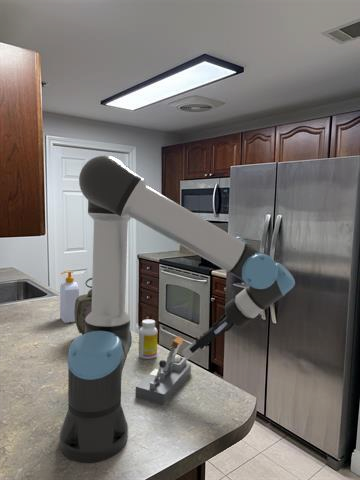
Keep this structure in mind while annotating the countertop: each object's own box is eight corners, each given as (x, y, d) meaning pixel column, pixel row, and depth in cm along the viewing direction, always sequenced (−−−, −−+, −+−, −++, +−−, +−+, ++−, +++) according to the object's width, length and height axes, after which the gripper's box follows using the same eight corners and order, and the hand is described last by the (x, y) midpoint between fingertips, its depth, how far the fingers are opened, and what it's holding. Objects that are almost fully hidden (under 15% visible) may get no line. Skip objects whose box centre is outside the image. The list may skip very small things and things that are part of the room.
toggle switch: (158, 384, 98) (168, 361, 96) (155, 387, 96) (165, 364, 94) (153, 380, 99) (162, 357, 97) (149, 383, 97) (159, 360, 95)
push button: (182, 361, 111) (182, 355, 111) (177, 365, 108) (177, 359, 108) (171, 359, 113) (172, 353, 112) (167, 363, 109) (167, 357, 109)
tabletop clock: (76, 344, 131) (77, 280, 129) (73, 336, 140) (74, 276, 137) (113, 340, 137) (115, 278, 135) (108, 332, 146) (109, 274, 143)
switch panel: (190, 373, 112) (191, 358, 111) (164, 404, 93) (164, 387, 93) (165, 367, 115) (166, 353, 115) (135, 396, 97) (136, 379, 96)
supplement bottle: (160, 356, 124) (161, 321, 123) (147, 361, 119) (148, 325, 118) (148, 350, 128) (149, 317, 127) (134, 355, 124) (135, 320, 123)
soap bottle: (58, 318, 161) (58, 270, 159) (73, 316, 165) (73, 269, 163) (63, 324, 154) (63, 273, 152) (78, 321, 157) (79, 272, 155)
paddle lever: (169, 372, 105) (183, 339, 103) (164, 378, 102) (178, 343, 99) (165, 369, 106) (178, 336, 103) (159, 374, 102) (173, 340, 100)
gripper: (248, 326, 86) (184, 375, 94) (257, 312, 98) (200, 357, 106) (228, 302, 88) (167, 353, 96) (240, 292, 100) (185, 337, 108)
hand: (185, 355), depth 101 cm, fingers closed
